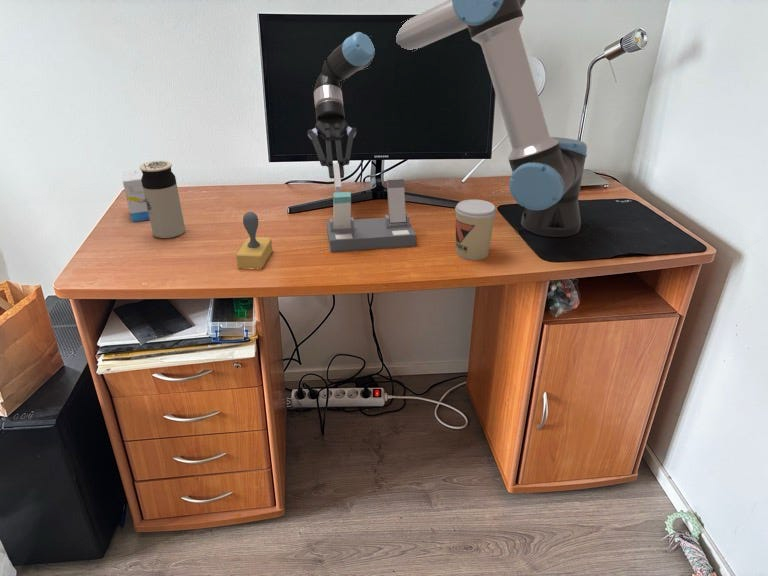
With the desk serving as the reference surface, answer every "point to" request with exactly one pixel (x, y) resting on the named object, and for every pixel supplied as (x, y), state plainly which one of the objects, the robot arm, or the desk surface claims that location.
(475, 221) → the coffee cup
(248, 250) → the rubber stamp
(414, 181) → the desk surface
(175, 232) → the travel mug
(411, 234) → the control panel
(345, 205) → the cream paddle
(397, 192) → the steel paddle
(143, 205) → the ink box
